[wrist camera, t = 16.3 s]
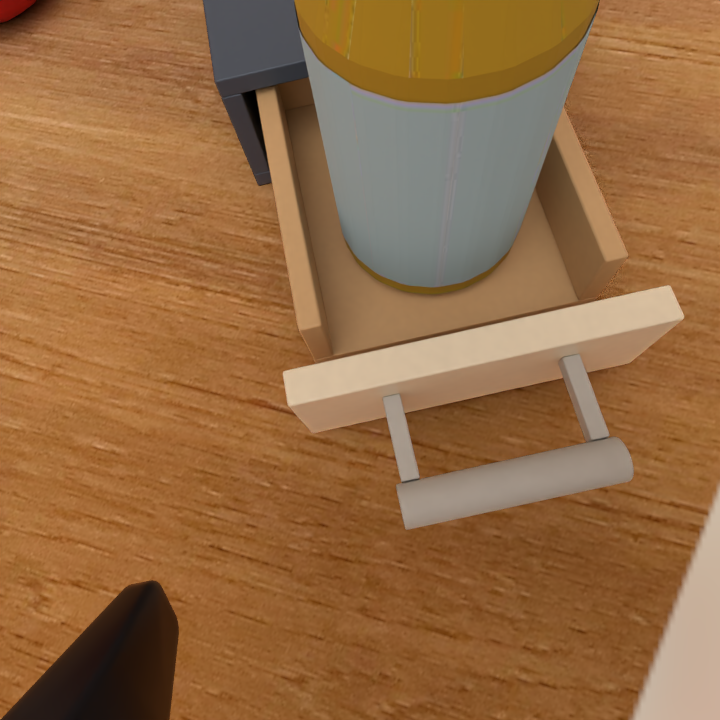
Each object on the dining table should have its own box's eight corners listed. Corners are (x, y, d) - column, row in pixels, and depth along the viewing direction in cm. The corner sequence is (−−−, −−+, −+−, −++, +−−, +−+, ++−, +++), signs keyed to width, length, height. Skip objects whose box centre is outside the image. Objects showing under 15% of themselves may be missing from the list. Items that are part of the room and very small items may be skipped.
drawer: (675, 473, 19) (749, 453, 15) (331, 548, 19) (310, 549, 15) (509, 64, 25) (528, -27, 21) (257, 123, 25) (228, 43, 21)
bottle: (331, 171, 23) (206, -432, 9) (491, 139, 23) (628, -530, 9) (358, 317, 20) (246, -189, 6) (537, 282, 20) (833, -317, 6)
